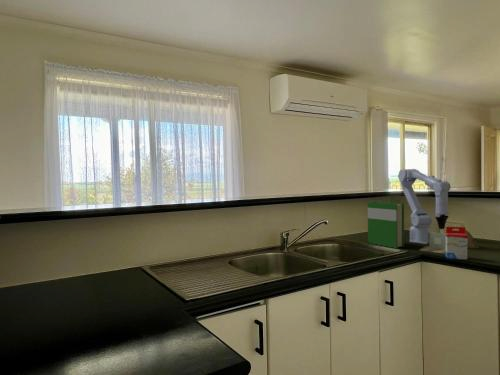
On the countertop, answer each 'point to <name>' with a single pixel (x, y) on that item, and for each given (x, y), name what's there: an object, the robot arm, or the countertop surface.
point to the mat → (433, 249)
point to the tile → (437, 240)
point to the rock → (471, 241)
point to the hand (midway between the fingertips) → (441, 228)
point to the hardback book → (386, 224)
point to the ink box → (456, 243)
